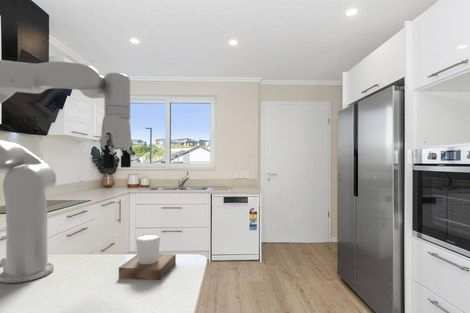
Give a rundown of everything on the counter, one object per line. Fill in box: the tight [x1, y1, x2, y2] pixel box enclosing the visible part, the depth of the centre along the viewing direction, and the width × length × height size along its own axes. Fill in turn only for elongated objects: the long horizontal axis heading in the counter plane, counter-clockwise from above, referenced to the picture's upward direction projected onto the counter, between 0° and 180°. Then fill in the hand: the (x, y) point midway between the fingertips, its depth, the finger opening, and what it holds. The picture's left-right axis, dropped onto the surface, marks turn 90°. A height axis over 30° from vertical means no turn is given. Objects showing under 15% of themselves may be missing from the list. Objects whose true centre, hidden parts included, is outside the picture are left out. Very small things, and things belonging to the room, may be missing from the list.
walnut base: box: [118, 253, 177, 281], centre depth 82 cm, size 12×12×3 cm
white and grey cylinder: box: [135, 233, 161, 264], centre depth 81 cm, size 7×7×7 cm
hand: (117, 167), depth 88 cm, fingers open, 9 cm apart
